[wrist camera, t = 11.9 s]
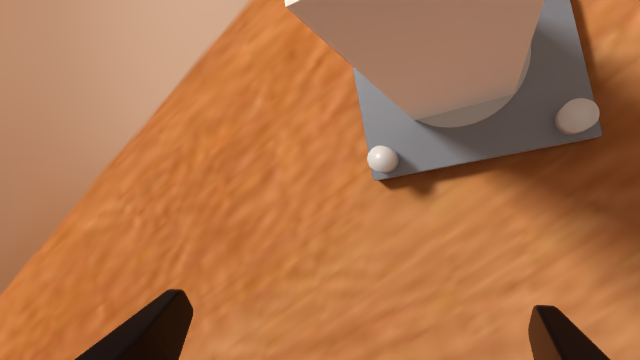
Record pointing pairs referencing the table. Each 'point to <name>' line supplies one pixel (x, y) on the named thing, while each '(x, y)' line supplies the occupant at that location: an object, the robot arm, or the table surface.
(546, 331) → the robot arm
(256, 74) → the table surface
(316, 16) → the block
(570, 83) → the locating plate
